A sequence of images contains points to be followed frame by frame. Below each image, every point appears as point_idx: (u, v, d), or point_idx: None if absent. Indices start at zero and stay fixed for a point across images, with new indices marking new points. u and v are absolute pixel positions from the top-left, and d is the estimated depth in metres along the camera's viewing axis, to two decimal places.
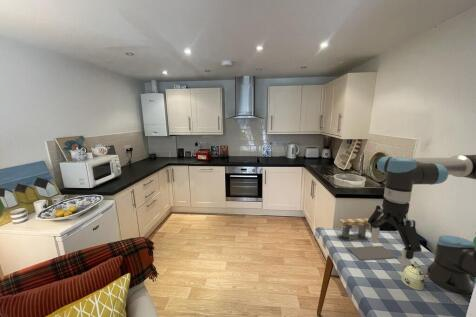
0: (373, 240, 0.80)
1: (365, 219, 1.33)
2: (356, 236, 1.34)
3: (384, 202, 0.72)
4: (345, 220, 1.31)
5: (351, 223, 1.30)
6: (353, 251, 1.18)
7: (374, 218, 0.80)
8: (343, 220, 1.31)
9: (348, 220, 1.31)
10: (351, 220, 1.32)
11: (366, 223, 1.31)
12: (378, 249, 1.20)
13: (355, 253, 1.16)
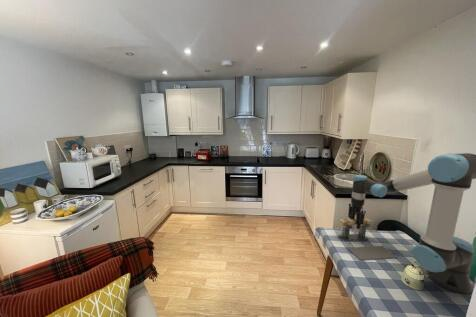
0: None
1: (365, 219, 1.33)
2: (356, 236, 1.34)
3: (351, 199, 1.30)
4: (345, 220, 1.31)
5: (351, 223, 1.30)
6: (353, 251, 1.18)
7: (350, 212, 1.36)
8: (343, 220, 1.31)
9: (348, 220, 1.31)
10: (351, 220, 1.32)
11: (366, 223, 1.31)
12: (378, 249, 1.20)
13: (355, 253, 1.16)
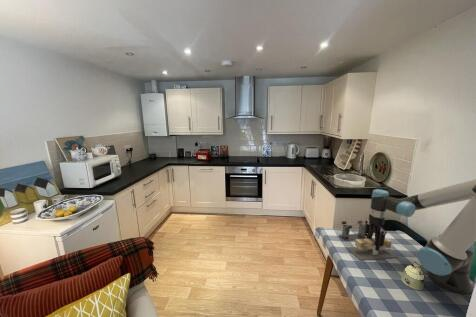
0: None
1: None
2: (356, 236, 1.34)
3: (369, 217, 1.15)
4: (362, 240, 1.16)
5: (369, 244, 1.14)
6: (353, 251, 1.18)
7: (367, 231, 1.20)
8: (360, 240, 1.16)
9: (365, 240, 1.16)
10: (369, 240, 1.16)
11: (386, 244, 1.16)
12: None
13: (355, 253, 1.16)
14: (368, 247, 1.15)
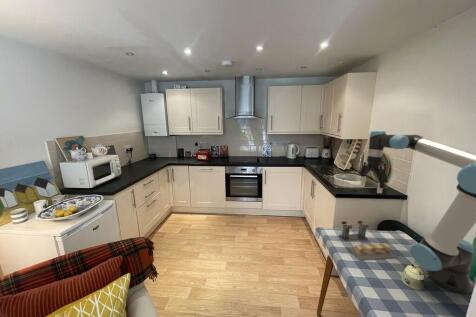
0: (362, 184, 1.28)
1: (383, 244, 1.18)
2: (356, 236, 1.34)
3: (368, 157, 1.20)
4: (361, 246, 1.17)
5: (368, 250, 1.15)
6: (353, 251, 1.18)
7: (362, 170, 1.28)
8: (359, 246, 1.17)
9: (364, 246, 1.17)
10: (368, 246, 1.17)
11: (385, 249, 1.16)
12: None
13: (355, 253, 1.16)
14: (367, 253, 1.15)
